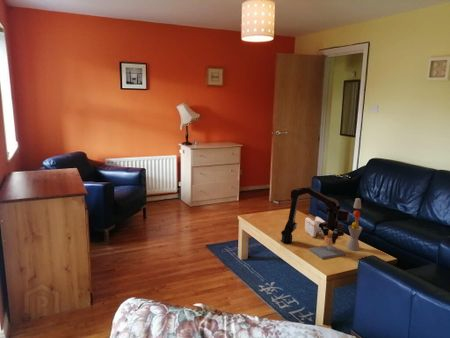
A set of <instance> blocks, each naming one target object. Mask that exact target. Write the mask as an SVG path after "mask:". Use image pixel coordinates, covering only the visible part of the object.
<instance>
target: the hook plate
mask: <svg viewBox="0 0 450 338" xmlns="http://www.w3.org/2000/svg"><path fill="white" fill-rule="evenodd" d="M308 249H309V250H308V251H309V252H311V253H312V254H314V255H315V256H316V257H318V258H319V259H321V260H325V259H330V258H331V257H332V258H337V257H343V256H346V252H344V251H343V250H341V249H339V248H338V247H336V246H335V245H328V244H326V245H321V246H320V245H319V246H314V247H309V248H308Z"/></svg>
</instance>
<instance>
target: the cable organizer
mask: <svg viewBox="0 0 450 338" xmlns="http://www.w3.org/2000/svg"><path fill="white" fill-rule="evenodd" d="M322 222H326V220H324V219H322V218H321V217H319V216H315V217H314V220H312V219H311V218H310V217H305V220H304V231H305V232H306V233H307V234H308V235H309V236H310V237H312V238H316V236H317V233H318V234H319V235H320V236H322V237H325V236H324V234H323V232H322V230H321V228H320V227H319V224H320V223H322Z"/></svg>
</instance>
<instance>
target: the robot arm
mask: <svg viewBox="0 0 450 338" xmlns="http://www.w3.org/2000/svg"><path fill="white" fill-rule="evenodd" d="M306 194H308V195H309V196H311V197H313V198H314V199H317V200H318V201H320V202H321V203H322V204H324V206H325V207H326V209H325V210H324V212H327V218H326V219H325V222H322V223H320V224H319V227H320V228H321V230H322V232H323V234H324V236H323V237H325V236H326V235H329V232H330V231H331V232H332V234H330V235H331V236H332V242H333V244H334V243H335V241H336V242H337V239H338V237H343V236H344V235H345V231H343V227H344V226H345V225H344V224H343V223H341V222H345V223H346V222H347V223H349V221H350V217H351V215H350V211H349V210H342V208H341V206H340V203H339V200H338V199H336V198H333V197H330V196H329V197H328V196H326V195H325V194H323V193H321V192H319V191H318V190H316V189H314V188H312V187H311V186H305V187H296V188H294V189H293V190H291V191H290V200H291V202H290V207H289V208H290V209H289V213H288V214H289V215H288V219H287V222H286V224H285V227H284V228H283V230H282V231H280V234H281V239H280V242H281V243H282V244H284V245H288V244H289V245H290V244H293V232H294V231H295V230H297V225H298V223H297V222H296V216H297V210H298V205H299V201H300V199H301V197H302V195H306ZM339 221H341V222H339Z"/></svg>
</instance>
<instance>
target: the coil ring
mask: <svg viewBox="0 0 450 338" xmlns="http://www.w3.org/2000/svg"><path fill="white" fill-rule="evenodd" d="M324 243H325V244H326V245H333V246H335V245H336V244H337V240H336V241H335V243H334V244H333V242H332V236H331V234H328V235H326V236H324Z"/></svg>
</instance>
